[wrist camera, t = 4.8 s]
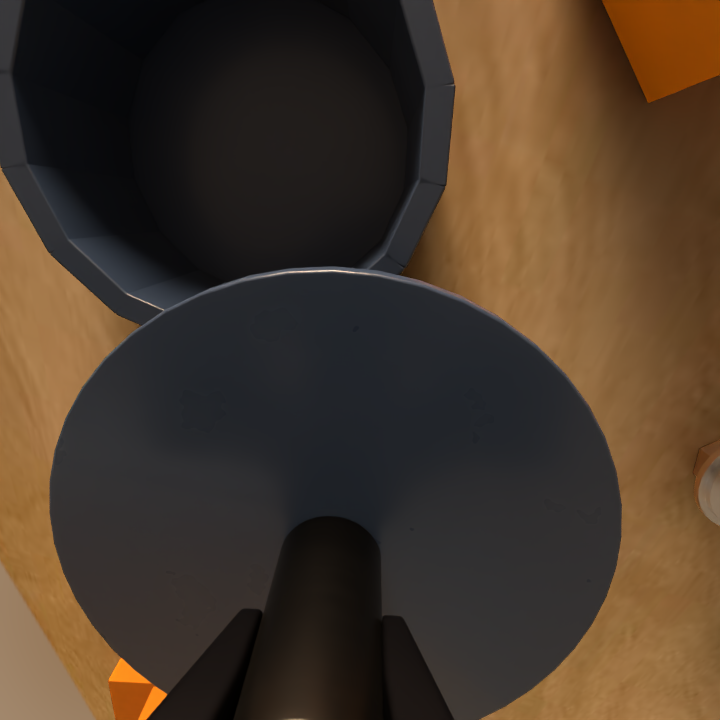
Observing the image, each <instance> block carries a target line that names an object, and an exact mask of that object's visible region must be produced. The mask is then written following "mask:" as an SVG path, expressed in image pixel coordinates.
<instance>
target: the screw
mask: <svg viewBox="0 0 720 720" xmlns="http://www.w3.org/2000/svg"><path fill="white" fill-rule="evenodd" d="M693 474H694V475H695V476H697V477H696V480H695V484H694V497H695V501H696V504H697V506H698V507H699V509H700V511H701V512H702V513H703V514H704V515H705V516H707V517H708V518H709V519H710V520H711V521H712V522H714V523H716V524H717V525H719V526H720V440H718V441H716V442H714V443H711V444H709V445H706V446H704V447H702V448H700V449H699V453H698V456H697V460H696V464H695V467H694V471H693Z"/></svg>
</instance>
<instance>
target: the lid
mask: <svg viewBox="0 0 720 720" xmlns="http://www.w3.org/2000/svg"><path fill="white" fill-rule="evenodd" d="M50 518H51V525H52V531H53V538H54V544H55V547H56V550H57V553H58V557H59V560H60V563H61V566H62V570H63V573H64V575H65V577H66V579H67V581H68V583H69V585H70V587H71V590H72V592H73V594H74V596H75V598H76V600H77V602H78V603H79V605H80V606H81V608H82V609H83V611H84V613H85V614H86V616H87V617H88V619H89V620H90V622H91V624H92V625H93V626H94V628H95V629H96V630H97V631H98V632H99V634H100V635H101V636H102V637H103V638H104V640H105V641H106V642H107V643H108V644H109V646H110V647H111V648H112V649H113V650H114V651H115V652H116V653H117V654H118V655H119V656H120V657H121V658H122V659H123V660H124V661H125V662H126V663H127V664H128V665H130V666H131V667H132V668H133V669H134V670H135V671H136V672H138V673H139V674H140V675H141V676H143V677H144V678H145V679H147V680H148V681H149V682H150V683H152V684H153V685H154V686H156V687H157V688H158V689H160V690H162V691H163V692H165V693H166V694H168V693H169V692H170V691H171V690H172V689H173V688H174V687H175V685H176V684H177V683H178V682H179V681H180V680H181V678H182V677H183V676H184V675H185V674H186V673H187V671H188V670H189V669H190V668H191V667H192V666H193V664H194V663H195V662H196V661H197V660H198V659H199V657H200V656H201V655H202V654H203V653H204V652H205V650H206V649H207V648H208V647H209V646H210V645H211V644H212V642H213V641H214V640H215V639H216V638H217V637H218V635H219V634H220V633H221V632H222V631H223V630H224V628H225V627H226V626H227V625H228V624H229V623H230V621H231V620H232V619H233V618H234V617H235V616H236V614H237V613H238V612H239V611H240V610H242V609H245V608H247V609H260V610H261V611H262V613H263V615H262V619H261V623H260V626H259V630H258V633H257V637H256V640H255V644H254V648H253V651H252V655H251V658H250V662H249V665H248V669H247V673H246V676H245V680H244V683H243V687H242V690H241V694H240V698H239V701H238V705H237V708H236V712H235V715H234V719H233V720H384V714H383V687H382V624H381V623H382V617H383V616H384V615H393V616H401V617H403V619H404V620H405V622H406V624H407V626H408V628H409V630H410V632H411V634H412V636H413V638H414V640H415V642H416V644H417V646H418V648H419V650H420V652H421V654H422V656H423V658H424V660H425V662H426V664H427V666H428V668H429V670H430V672H431V674H432V676H433V678H434V680H435V682H436V684H437V686H438V688H439V690H440V692H441V694H442V696H443V698H444V700H445V702H446V704H447V706H448V708H449V710H450V712H451V714H452V716H453V718H454V720H479V719H481V718H483V717H485V716H487V715H489V714H491V713H493V712H495V711H497V710H499V709H501V708H503V707H505V706H507V705H508V704H510V703H511V702H513V701H514V700H516V699H517V698H519V697H521V696H522V695H524V694H525V693H527V692H528V691H530V690H531V689H532V688H534V687H535V686H536V685H537V684H538V683H540V682H541V681H542V680H543V679H544V678H546V677H547V676H548V675H549V674H550V673H552V672H553V671H554V670H555V669H556V668H557V667H558V666H559V665H560V664H561V663H562V662H563V660H564V659H565V658H566V657H567V656H568V655H569V654H570V653H571V652H572V651H573V650H574V649H575V647H576V646H577V645H578V643H579V642H580V640H581V639H582V638H583V636H584V635H585V633H586V632H587V630H588V629H589V628H590V626H591V625H592V623H593V621H594V619H595V618H596V616H597V614H598V612H599V610H600V608H601V606H602V604H603V602H604V600H605V598H606V596H607V593H608V590H609V587H610V584H611V581H612V578H613V575H614V572H615V569H616V565H617V559H618V553H619V548H620V542H621V518H622V504H621V498H620V491H619V485H618V478H617V472H616V468H615V465H614V462H613V459H612V456H611V453H610V450H609V447H608V444H607V441H606V438H605V436H604V434H603V432H602V430H601V428H600V426H599V424H598V422H597V420H596V418H595V416H594V415H593V413H592V411H591V409H590V407H589V405H588V404H587V402H586V401H585V399H584V398H583V397H582V395H581V394H580V393H579V391H578V390H577V389H576V387H575V386H574V385H573V383H572V382H571V381H570V379H569V378H568V376H567V375H566V374H565V373H564V372H563V371H562V370H561V369H560V368H559V367H558V366H557V365H556V364H555V363H554V362H553V361H552V360H551V359H550V358H549V357H548V356H547V355H546V354H545V353H544V352H543V351H542V350H541V349H540V348H539V347H538V346H537V345H536V344H535V343H533V342H532V341H531V340H530V339H528V338H527V337H526V336H524V335H523V334H522V333H520V332H519V331H518V330H516V329H515V328H514V327H512V326H511V325H510V324H508V323H507V322H506V321H504V320H503V319H501V318H500V317H499V316H497V315H496V314H494V313H492V312H490V311H488V310H486V309H485V308H483V307H481V306H479V305H477V304H475V303H474V302H472V301H470V300H468V299H466V298H464V297H462V296H461V295H458V294H455V293H453V292H450V291H447V290H445V289H442V288H439V287H437V286H434V285H432V284H429V283H426V282H424V281H421V280H417V279H412V278H408V277H404V276H400V275H395V274H391V273H387V272H382V271H377V270H367V269H356V268H346V267H336V266H333V267H307V268H289V269H283V270H278V271H272V272H266V273H260V274H255V275H249V276H246V277H243V278H240V279H237V280H234V281H231V282H227V283H224V284H221V285H218V286H215V287H212V288H209V289H207V290H205V291H203V292H201V293H199V294H196V295H194V296H192V297H190V298H188V299H186V300H184V301H182V302H180V303H178V304H176V305H174V306H172V307H170V308H168V309H166V310H164V311H163V312H161V313H160V314H158V315H157V316H155V317H154V318H152V319H151V320H149V321H148V322H146V323H145V324H144V325H142V326H141V327H139V328H138V329H136V330H135V331H133V332H132V333H131V334H130V335H129V336H128V337H127V338H126V339H125V340H123V341H122V342H121V343H120V344H119V345H118V346H117V347H116V348H115V349H114V350H113V351H112V352H111V353H110V354H109V355H107V356H106V357H105V358H104V360H103V361H102V362H101V364H100V365H99V366H98V367H97V369H96V370H95V371H94V373H93V374H92V375H91V377H90V378H89V379H88V380H87V382H86V383H85V384H84V386H83V387H82V389H81V391H80V392H79V394H78V396H77V398H76V400H75V402H74V404H73V405H72V407H71V409H70V411H69V413H68V415H67V417H66V419H65V422H64V425H63V428H62V431H61V434H60V437H59V440H58V442H57V445H56V448H55V453H54V459H53V465H52V471H51V477H50Z"/></svg>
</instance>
